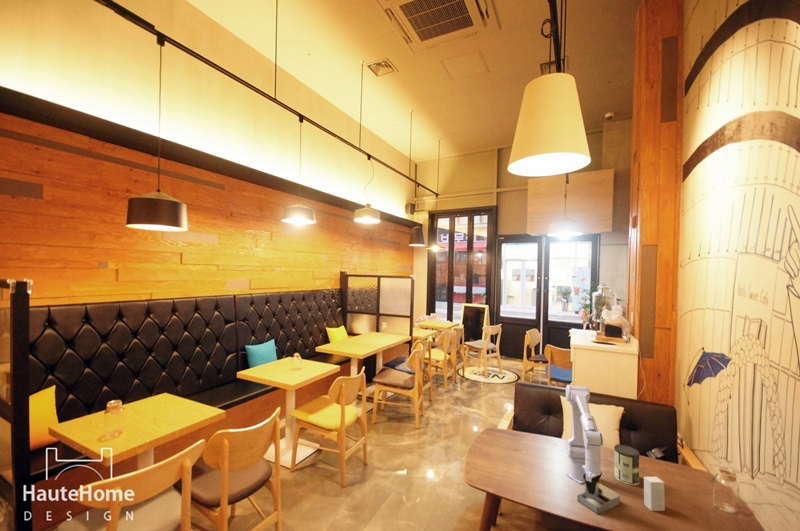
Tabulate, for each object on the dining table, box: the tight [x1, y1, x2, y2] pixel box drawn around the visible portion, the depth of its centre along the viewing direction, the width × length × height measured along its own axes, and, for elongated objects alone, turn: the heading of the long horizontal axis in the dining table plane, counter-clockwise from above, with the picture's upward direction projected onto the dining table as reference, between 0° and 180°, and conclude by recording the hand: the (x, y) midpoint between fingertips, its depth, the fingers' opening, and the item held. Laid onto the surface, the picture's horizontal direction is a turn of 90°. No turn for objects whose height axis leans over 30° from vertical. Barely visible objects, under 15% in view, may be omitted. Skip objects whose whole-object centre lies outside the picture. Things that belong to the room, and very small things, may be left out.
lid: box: [598, 483, 621, 501], centre depth 147 cm, size 7×9×2 cm
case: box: [577, 491, 621, 515], centre depth 145 cm, size 16×9×3 cm, turn 117°
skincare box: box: [643, 476, 666, 512], centre depth 142 cm, size 6×4×12 cm
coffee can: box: [613, 444, 640, 486], centre depth 163 cm, size 10×10×14 cm
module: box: [585, 482, 599, 501], centre depth 143 cm, size 4×4×6 cm
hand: (592, 491), depth 143 cm, fingers closed on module, 4 cm apart
